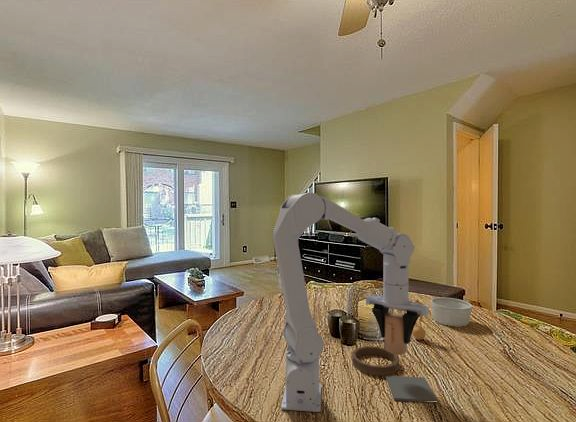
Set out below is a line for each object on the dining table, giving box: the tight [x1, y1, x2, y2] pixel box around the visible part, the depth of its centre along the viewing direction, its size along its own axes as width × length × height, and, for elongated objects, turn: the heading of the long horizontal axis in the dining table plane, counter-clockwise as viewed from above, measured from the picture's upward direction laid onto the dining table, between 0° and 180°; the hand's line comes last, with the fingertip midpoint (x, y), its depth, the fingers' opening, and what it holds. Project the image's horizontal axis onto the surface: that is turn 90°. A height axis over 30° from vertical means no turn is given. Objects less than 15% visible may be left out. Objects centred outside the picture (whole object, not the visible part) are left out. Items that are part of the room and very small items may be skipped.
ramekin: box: [430, 296, 473, 328], centre depth 112 cm, size 13×13×7 cm
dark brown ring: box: [351, 345, 400, 377], centre depth 82 cm, size 12×12×2 cm
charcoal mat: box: [385, 374, 439, 403], centre depth 70 cm, size 9×9×1 cm
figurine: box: [403, 298, 432, 341], centre depth 98 cm, size 8×6×12 cm
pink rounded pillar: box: [384, 312, 408, 355], centre depth 74 cm, size 7×5×8 cm
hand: (395, 339), depth 75 cm, fingers closed on pink rounded pillar, 5 cm apart
